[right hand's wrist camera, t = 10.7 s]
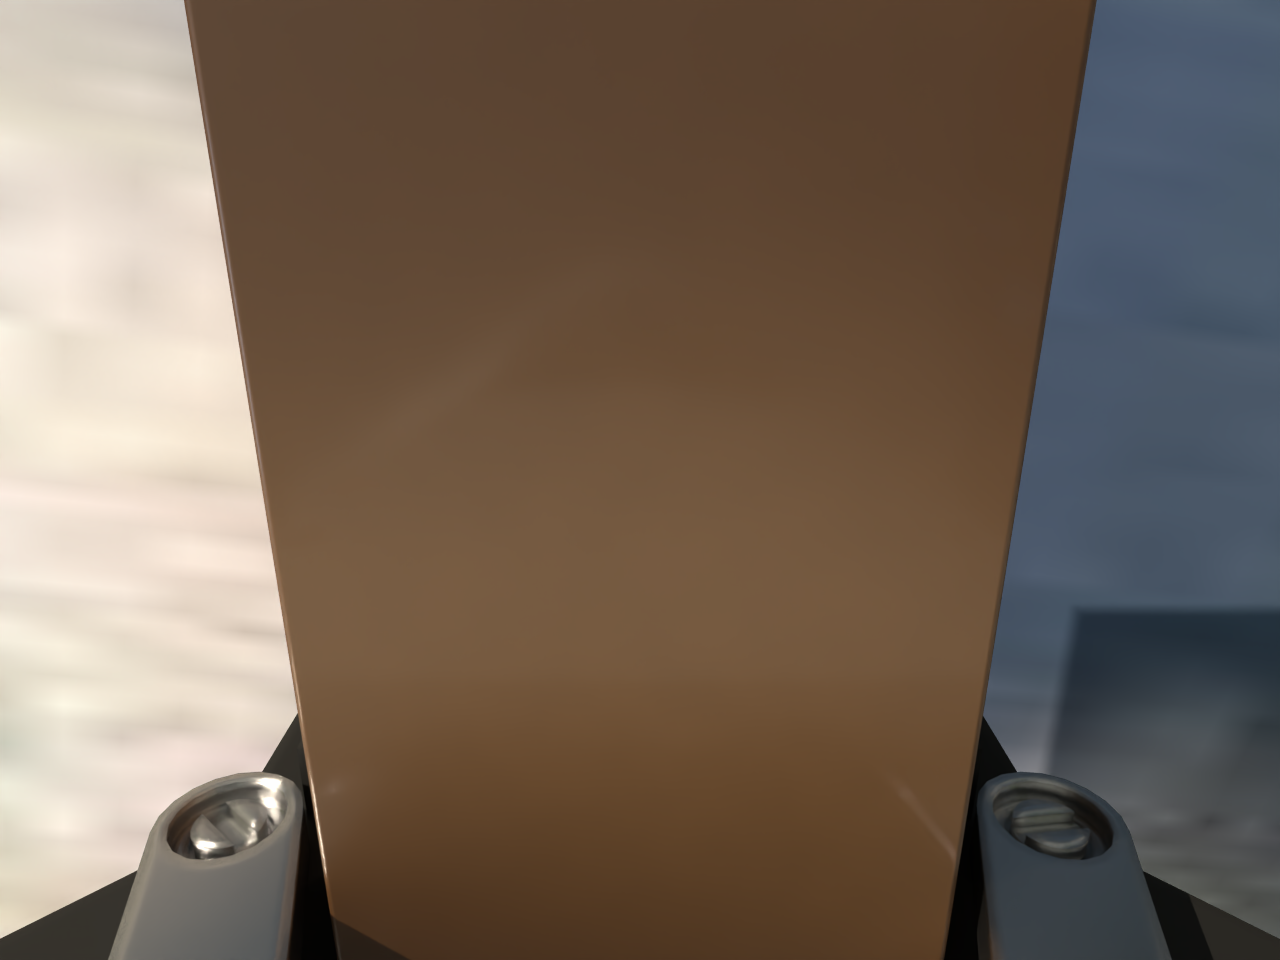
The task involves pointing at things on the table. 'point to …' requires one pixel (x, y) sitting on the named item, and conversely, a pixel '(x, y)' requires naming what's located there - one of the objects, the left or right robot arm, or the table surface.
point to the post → (640, 447)
